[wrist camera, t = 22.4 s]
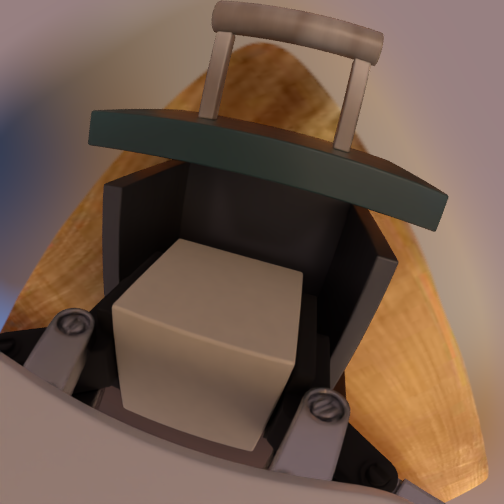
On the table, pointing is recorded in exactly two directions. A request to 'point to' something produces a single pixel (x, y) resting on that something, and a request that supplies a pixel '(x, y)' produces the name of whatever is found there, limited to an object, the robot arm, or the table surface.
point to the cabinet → (254, 458)
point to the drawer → (267, 182)
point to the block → (208, 342)
